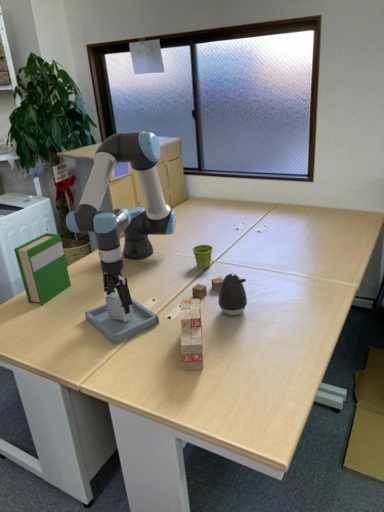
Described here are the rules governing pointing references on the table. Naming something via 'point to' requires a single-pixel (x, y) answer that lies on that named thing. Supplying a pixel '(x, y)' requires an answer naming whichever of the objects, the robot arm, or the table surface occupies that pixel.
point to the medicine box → (115, 306)
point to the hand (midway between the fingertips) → (120, 315)
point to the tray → (121, 322)
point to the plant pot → (203, 255)
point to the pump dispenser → (232, 295)
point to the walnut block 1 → (199, 291)
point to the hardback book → (43, 268)
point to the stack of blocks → (191, 335)
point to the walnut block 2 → (217, 283)
